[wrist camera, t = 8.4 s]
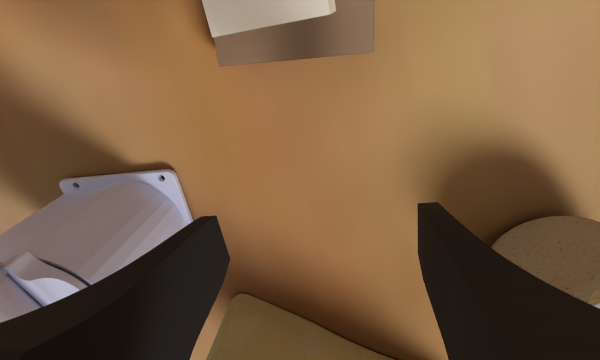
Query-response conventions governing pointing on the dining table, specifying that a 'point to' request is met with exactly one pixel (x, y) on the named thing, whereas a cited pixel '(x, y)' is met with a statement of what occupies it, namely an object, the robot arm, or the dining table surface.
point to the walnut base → (303, 37)
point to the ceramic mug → (558, 253)
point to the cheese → (278, 336)
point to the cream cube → (260, 13)
